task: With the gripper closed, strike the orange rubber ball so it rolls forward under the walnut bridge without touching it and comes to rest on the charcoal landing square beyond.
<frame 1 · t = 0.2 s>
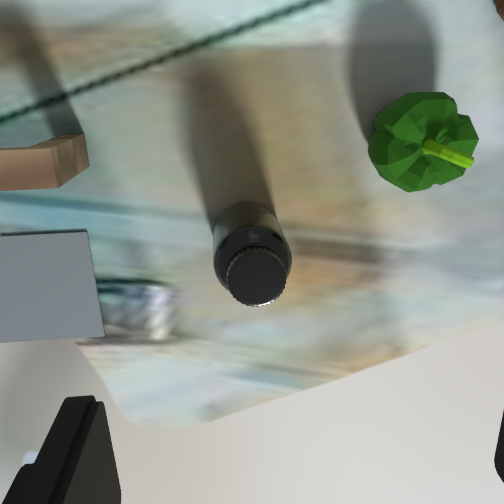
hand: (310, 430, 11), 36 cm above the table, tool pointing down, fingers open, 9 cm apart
bell pepper: (396, 136, 45), on the table
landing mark: (38, 289, 48), on the table
supplement bottle: (246, 231, 47), on the table
bridge: (7, 153, 43), on the table
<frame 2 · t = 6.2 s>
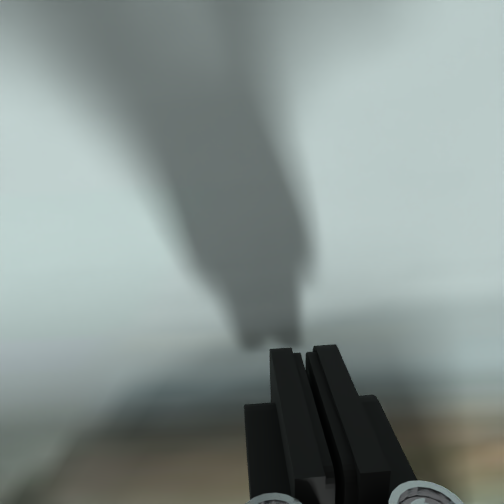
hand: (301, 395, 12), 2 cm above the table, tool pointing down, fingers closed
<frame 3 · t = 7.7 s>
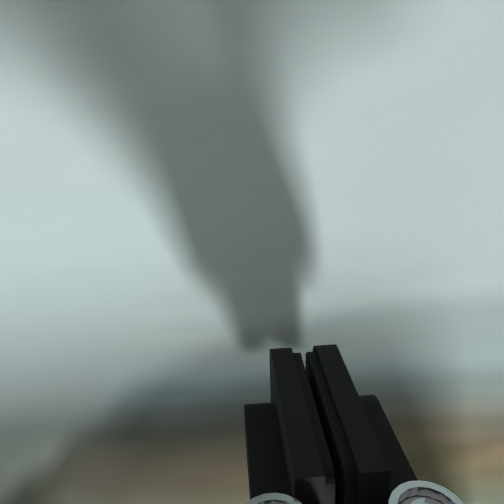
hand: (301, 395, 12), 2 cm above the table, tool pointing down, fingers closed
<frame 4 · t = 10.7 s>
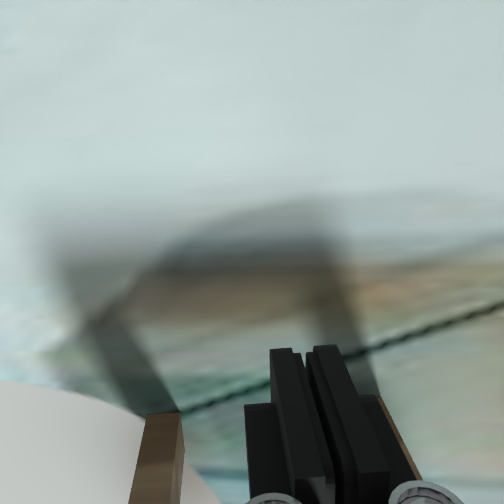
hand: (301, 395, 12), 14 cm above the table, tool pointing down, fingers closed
bridge: (266, 424, 29), on the table
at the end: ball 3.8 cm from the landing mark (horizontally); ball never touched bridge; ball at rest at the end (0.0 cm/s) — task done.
